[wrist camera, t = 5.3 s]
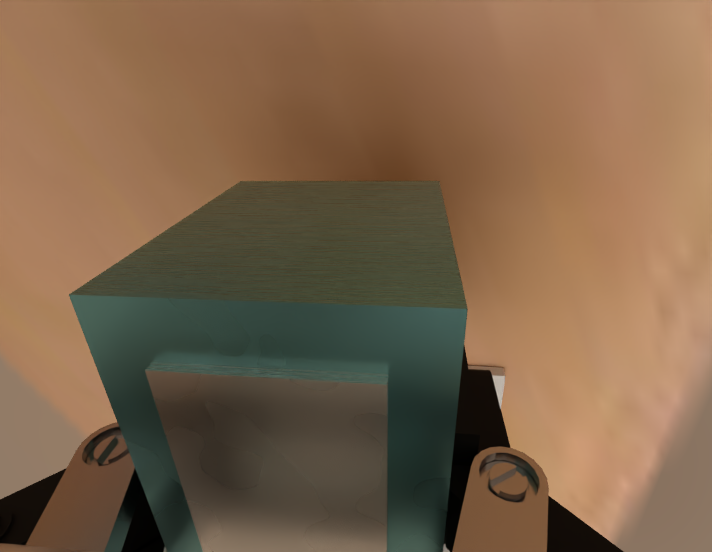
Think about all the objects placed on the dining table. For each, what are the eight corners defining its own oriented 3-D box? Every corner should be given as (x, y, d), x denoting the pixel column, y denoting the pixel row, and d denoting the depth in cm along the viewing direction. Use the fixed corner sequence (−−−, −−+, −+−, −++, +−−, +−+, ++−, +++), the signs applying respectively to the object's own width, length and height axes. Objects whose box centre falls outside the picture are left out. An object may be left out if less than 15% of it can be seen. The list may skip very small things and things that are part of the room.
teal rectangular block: (240, 181, 11) (57, 302, 5) (439, 181, 10) (469, 318, 5) (282, 456, 15) (207, 679, 10) (422, 468, 15) (428, 713, 9)
